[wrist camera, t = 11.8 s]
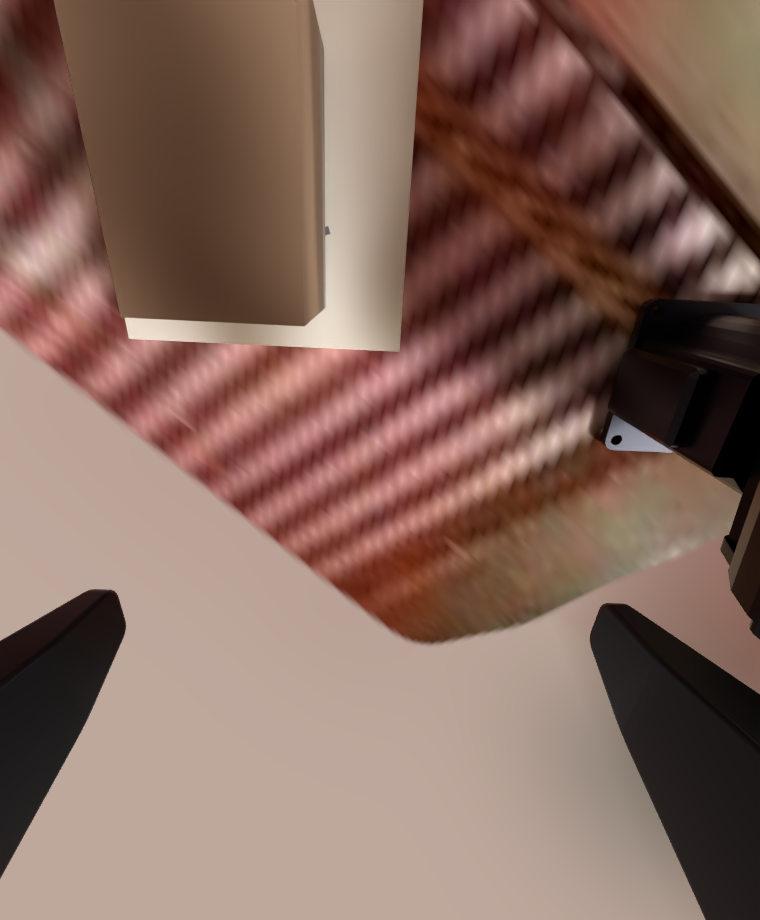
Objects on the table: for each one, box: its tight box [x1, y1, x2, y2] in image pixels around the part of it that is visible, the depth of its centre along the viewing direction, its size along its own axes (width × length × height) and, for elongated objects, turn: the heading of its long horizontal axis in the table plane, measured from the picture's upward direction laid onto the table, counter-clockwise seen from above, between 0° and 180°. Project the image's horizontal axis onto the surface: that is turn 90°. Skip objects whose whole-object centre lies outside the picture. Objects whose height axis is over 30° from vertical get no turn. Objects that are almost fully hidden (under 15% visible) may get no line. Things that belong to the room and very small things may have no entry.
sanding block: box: [54, 0, 326, 326], centre depth 11 cm, size 4×7×5 cm, turn 177°
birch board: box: [125, 0, 423, 352], centre depth 14 cm, size 10×10×2 cm
